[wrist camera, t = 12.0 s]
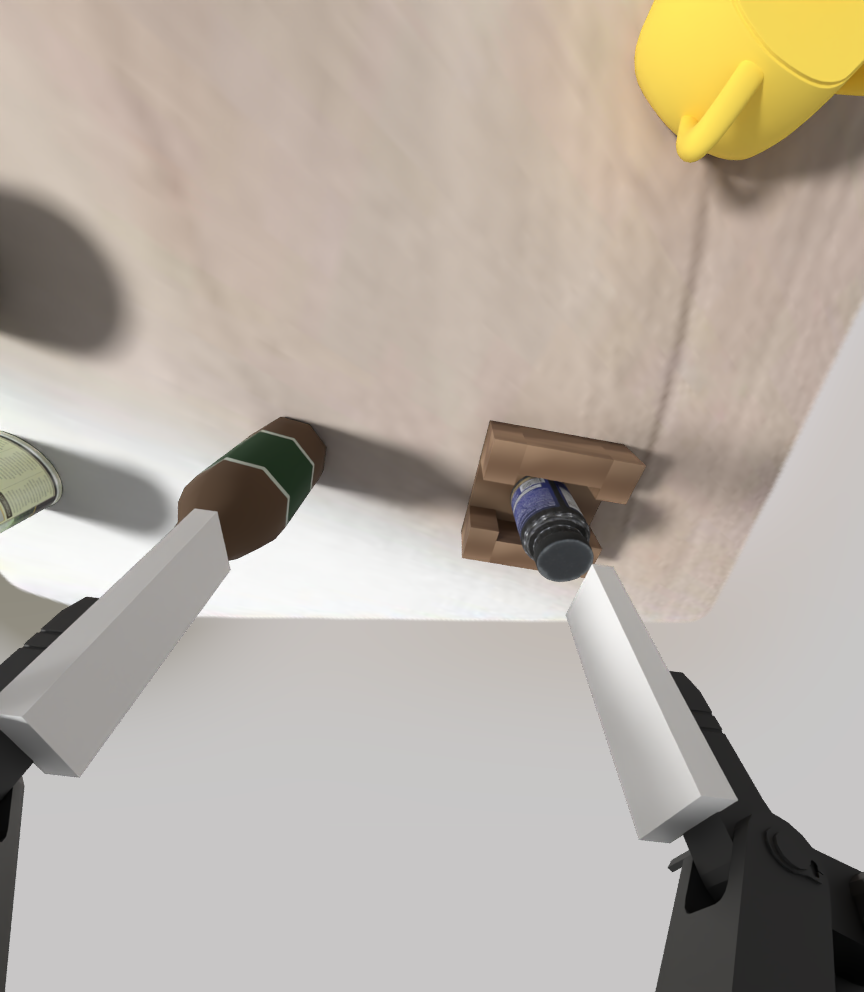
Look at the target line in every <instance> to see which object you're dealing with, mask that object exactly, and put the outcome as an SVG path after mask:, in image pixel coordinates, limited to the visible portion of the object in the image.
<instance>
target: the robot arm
mask: <svg viewBox="0 0 864 992" xmlns="http://www.w3.org/2000/svg"><path fill="white" fill-rule="evenodd" d="M229 571H230V565H229V561H228V557H227V552H226V548H225V543H224V539H223V534H222V530H221V525H220V521H219V517H218V512H216V511H209V510H202V509H194V510H192V511H191V512H190V513H189V514H188V515H187V516H186V517H185V518H184V519H183V520H182V521H181V522H180V523H179V524H178V525H177V526H176V527H174V528H173V529H172V530H171V531H170V532H169V533H168V534H167V535H166V536H165V537H164V538H163V539H162V540H161V541H160V542H159V543H158V544H157V545H155V546H154V547H153V548H152V549H151V550H150V551H149V552H148V553H147V554H146V555H145V556H144V557H143V558H142V559H141V560H140V561H139V562H137V563H136V564H135V565H134V566H133V567H132V568H131V569H130V570H129V571H128V572H127V573H126V574H125V575H124V576H123V577H122V578H121V579H119V580H118V581H117V582H116V583H115V584H114V585H113V586H112V587H111V588H110V589H109V590H108V591H107V592H106V593H105V594H104V595H103V596H101V597H100V598H93V597H85V598H83V599H82V600H80V601H78V602H76V603H74V604H73V605H71V606H69V607H67V608H66V609H64V610H62V611H61V612H60V613H59V614H57V615H56V616H55V617H54V618H53V619H52V620H51V621H50V622H48V623H47V624H46V625H45V626H44V627H43V628H42V629H41V632H39V633H36V634H35V635H34V636H33V637H32V638H30V639H29V640H28V641H27V642H26V643H25V644H24V647H23V648H19V649H18V650H17V651H16V652H14V653H13V654H12V655H11V656H10V657H9V658H8V659H7V660H5V661H4V662H3V663H2V664H1V665H0V992H5V983H6V973H7V962H8V951H9V942H10V931H11V921H12V910H13V900H14V889H15V879H16V868H17V858H18V848H19V837H20V826H21V815H22V806H23V795H24V782H23V778H22V775H23V774H24V773H25V772H26V770H27V769H28V768H29V767H30V766H31V764H32V763H34V764H35V765H36V766H37V767H38V768H39V769H40V770H42V771H43V772H44V773H45V774H53V775H62V776H70V777H80V776H81V775H82V773H83V772H84V771H85V769H86V768H87V767H88V765H89V764H90V762H91V761H92V760H93V758H94V757H95V756H96V754H97V753H98V751H99V750H100V749H101V747H102V746H103V745H104V743H105V742H106V740H107V739H108V738H109V736H110V735H111V733H112V732H113V731H114V729H115V728H116V727H117V725H118V724H119V723H120V721H121V719H122V718H123V717H124V716H125V714H126V713H127V712H128V710H129V709H130V707H131V706H132V705H133V703H134V702H135V701H136V699H137V698H138V696H139V695H140V694H141V692H142V691H143V689H144V688H145V687H146V685H147V684H148V683H149V681H150V680H151V679H152V677H153V676H154V674H155V673H156V672H157V670H158V669H159V668H160V666H161V665H162V663H163V662H164V661H165V659H166V658H167V657H168V655H169V654H170V652H171V651H172V650H173V648H174V647H175V646H176V644H177V643H178V641H179V640H180V639H181V637H182V636H183V635H184V633H185V632H186V630H187V629H188V627H189V626H190V625H191V624H192V622H193V621H194V619H195V618H196V617H197V615H198V614H199V613H200V611H201V610H202V608H203V607H204V606H205V604H206V603H207V602H208V600H209V599H210V597H211V596H212V595H213V593H214V592H215V591H216V589H217V588H218V586H219V585H220V584H221V582H222V581H223V580H224V578H225V577H226V575H227V574H228V573H229ZM566 617H567V620H568V623H569V626H570V629H571V632H572V635H573V638H574V641H575V645H576V647H577V651H578V654H579V657H580V660H581V663H582V666H583V669H584V672H585V675H586V678H587V681H588V684H589V688H590V691H591V694H592V697H593V699H594V703H595V706H596V709H597V712H598V715H599V718H600V721H601V724H602V727H603V730H604V734H605V736H606V740H607V743H608V746H609V749H610V752H611V755H612V758H613V761H614V764H615V767H616V770H617V773H618V777H619V780H620V782H621V786H622V789H623V792H624V795H625V798H626V801H627V804H628V807H629V810H630V813H631V816H632V819H633V823H634V826H635V829H636V832H637V835H638V838H639V840H645V841H654V842H664V843H671V842H673V841H674V840H676V839H677V838H679V837H681V836H682V835H683V836H684V838H685V841H686V843H687V845H688V848H689V850H688V851H687V852H685V853H683V854H681V855H680V856H678V857H677V858H675V859H673V860H672V861H671V863H670V865H669V866H668V868H669V869H670V870H671V871H672V872H674V871H676V870H678V869H679V868H681V867H682V870H681V874H680V879H679V884H678V888H677V893H676V898H675V902H674V907H673V912H672V916H671V921H670V926H669V931H668V935H667V940H666V945H665V949H664V954H663V959H662V964H661V968H660V973H659V978H658V982H657V987H656V992H864V872H861V871H859V870H857V869H854V868H852V867H850V866H848V865H846V864H844V863H842V862H840V861H838V860H836V859H833V858H832V857H829V856H827V855H825V854H823V853H821V852H819V851H817V850H815V849H813V848H812V847H811V846H810V844H809V843H808V842H807V841H806V840H805V838H804V837H803V836H802V835H801V834H800V833H799V832H798V831H797V830H796V829H794V828H793V827H792V826H791V825H790V824H789V823H788V822H786V821H785V820H783V819H781V818H780V817H778V816H776V815H775V814H773V813H772V812H771V811H770V810H769V808H768V806H767V805H766V803H765V802H764V800H763V799H762V797H761V796H760V794H759V792H758V790H757V789H756V787H755V785H754V784H753V782H752V780H751V778H750V777H749V775H748V773H747V771H746V770H745V768H744V766H743V764H742V763H741V761H740V759H739V758H738V756H737V754H736V752H735V751H734V749H733V747H732V746H731V744H730V742H729V740H728V739H727V737H726V735H725V734H723V733H722V728H721V727H720V725H719V723H718V722H717V720H716V718H715V717H714V716H712V711H711V709H710V708H709V706H708V704H707V703H706V701H705V699H704V698H703V696H702V694H701V692H700V691H699V690H698V689H697V688H696V687H695V686H694V684H693V683H692V682H691V681H690V680H689V679H688V678H687V677H686V676H685V675H684V674H683V673H681V672H673V671H669V670H668V668H667V666H666V665H665V663H664V661H663V659H662V657H661V655H660V653H659V651H658V650H657V648H656V646H655V644H654V642H653V640H652V639H651V637H650V635H649V633H648V631H647V629H646V627H645V625H644V623H643V621H642V620H641V618H640V616H639V614H638V612H637V610H636V608H635V607H634V605H633V603H632V601H631V599H630V597H629V595H628V593H627V592H626V590H625V588H624V586H623V584H622V582H621V580H620V578H619V577H618V575H617V573H616V571H615V569H614V567H612V566H605V565H597V564H592V565H591V567H590V569H589V571H588V573H587V575H586V577H585V579H584V581H583V582H582V584H581V586H580V588H579V590H578V592H577V594H576V596H575V598H574V600H573V602H572V604H571V606H570V608H569V609H568V611H567V613H566Z"/></svg>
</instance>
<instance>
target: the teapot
mask: <svg viewBox="0 0 864 992" xmlns="http://www.w3.org/2000/svg"><path fill="white" fill-rule="evenodd" d="M635 74H636V78H637V81H638V84H639V86H640V88H641V90H642V92H643V94H644V96H645V98H646V99H647V101H648V102H649V104H650V105H651V107H652V108H653V109H654V111H655V112H656V113H657V115H658V116H659V117H660V119H661V120H662V121H663V122H664V123H665V124H666V126H667V127H668V128H669V129H670V130H672V131H673V132H674V133H675V134H676V135H677V141H676V150H677V153H678V155H679V157H680V158H681V159H682V160H683V161H685V162H690V163H691V162H695V161H698V160H699V159H701V158H702V157H704V156H705V155H706V154H710V155H713V156H715V157H718V158H722V159H727V160H744V159H747V158H750V157H753V156H755V155H757V154H759V153H761V152H763V151H765V150H766V149H768V148H770V147H772V146H773V145H775V144H777V143H778V142H780V141H781V140H783V139H784V138H786V137H787V136H788V135H789V134H791V133H792V132H793V131H795V130H796V129H797V128H798V127H800V126H801V125H802V124H803V123H804V122H805V121H807V120H808V119H809V118H810V117H811V116H812V115H813V114H814V113H815V112H817V111H818V110H819V109H820V108H821V107H822V106H823V105H824V104H825V103H826V102H827V101H828V100H829V99H830V98H831V97H832V96H833V95H834V94H841V95H854V96H864V0H654V3H653V5H652V7H651V9H650V12H649V14H648V16H647V18H646V21H645V23H644V25H643V27H642V30H641V32H640V35H639V39H638V42H637V45H636V50H635Z"/></svg>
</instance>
